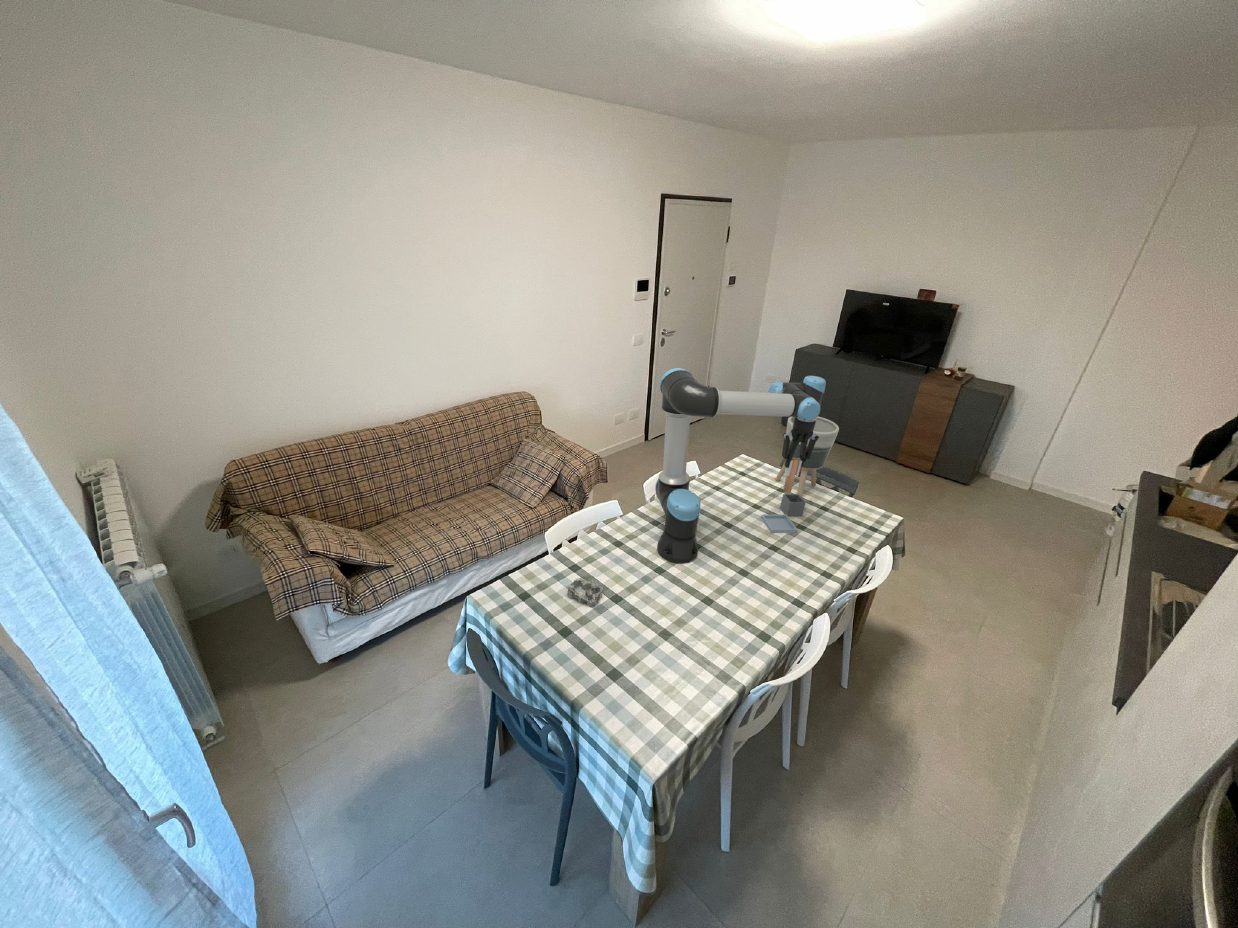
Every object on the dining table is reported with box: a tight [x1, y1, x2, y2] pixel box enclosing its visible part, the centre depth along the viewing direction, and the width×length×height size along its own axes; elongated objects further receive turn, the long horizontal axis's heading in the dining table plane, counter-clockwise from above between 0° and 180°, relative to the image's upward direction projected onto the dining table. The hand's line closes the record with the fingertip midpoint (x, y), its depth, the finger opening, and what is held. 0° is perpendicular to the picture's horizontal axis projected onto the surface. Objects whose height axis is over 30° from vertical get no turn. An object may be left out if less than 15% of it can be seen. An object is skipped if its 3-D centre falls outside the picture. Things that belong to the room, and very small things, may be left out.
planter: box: [774, 415, 840, 499], centre depth 226 cm, size 22×22×33 cm
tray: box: [760, 514, 799, 534], centre depth 203 cm, size 11×11×2 cm
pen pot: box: [779, 493, 806, 518], centre depth 211 cm, size 7×7×8 cm
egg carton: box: [565, 577, 604, 607], centre depth 159 cm, size 11×8×4 cm
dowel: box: [782, 458, 799, 494], centre depth 192 cm, size 3×3×14 cm
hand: (791, 474), depth 192 cm, fingers closed on dowel, 3 cm apart
